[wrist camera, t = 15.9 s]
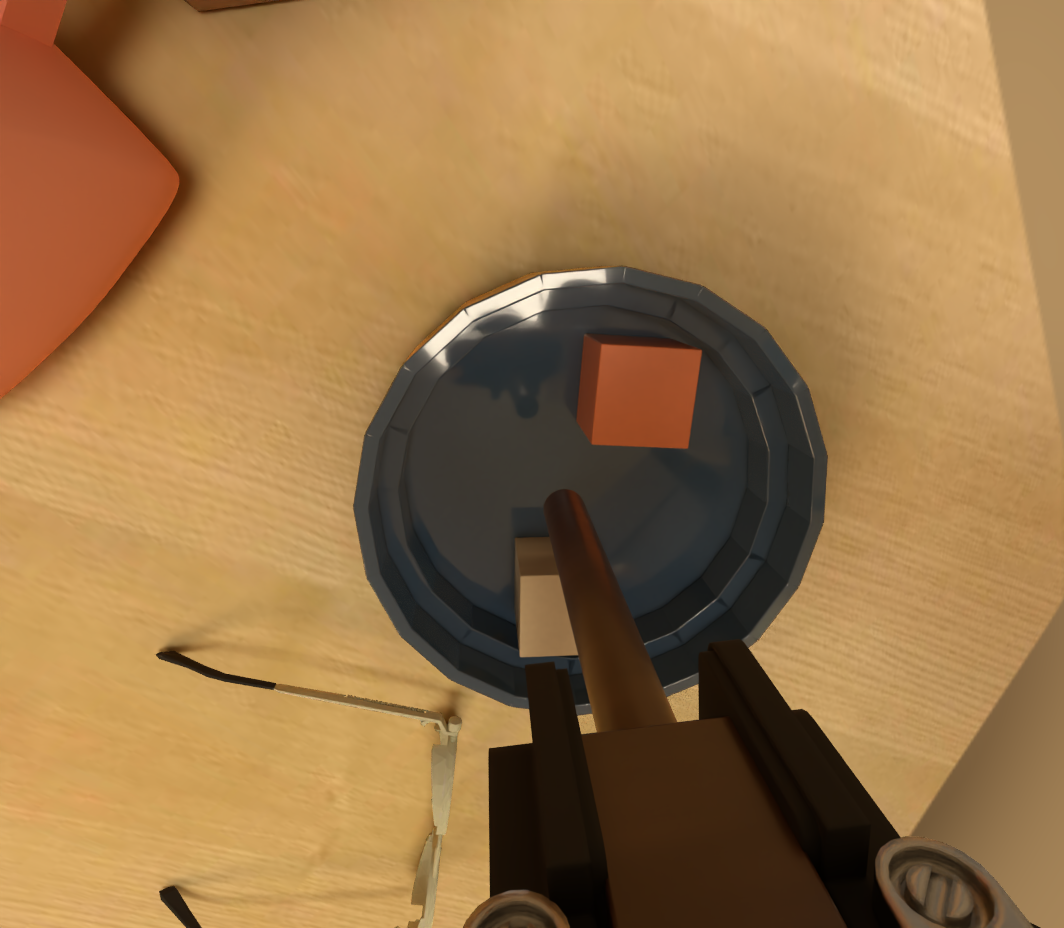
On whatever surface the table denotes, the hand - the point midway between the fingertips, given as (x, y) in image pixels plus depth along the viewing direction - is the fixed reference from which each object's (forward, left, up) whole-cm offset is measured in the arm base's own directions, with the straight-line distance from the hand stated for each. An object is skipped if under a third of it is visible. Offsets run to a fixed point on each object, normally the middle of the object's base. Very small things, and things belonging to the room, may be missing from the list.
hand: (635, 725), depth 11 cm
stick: (0, 0, -11) cm, 11 cm away
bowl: (-2, +2, -19) cm, 20 cm away
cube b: (0, +7, -19) cm, 20 cm away
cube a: (-4, -3, -19) cm, 19 cm away
